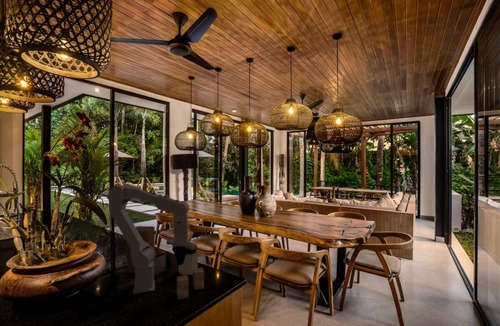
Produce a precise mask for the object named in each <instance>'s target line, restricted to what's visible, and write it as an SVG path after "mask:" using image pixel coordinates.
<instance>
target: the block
mask: <svg viewBox="0 0 500 326" xmlns="http://www.w3.org/2000/svg"><path fill="white" fill-rule="evenodd" d="M135 227H136V229H137V230H138V232H139V234H140V236H141V237H142V239H143V241H145V242H147V243H148V244H149V246H150V247H152V248H153V249H154V250H155V249H156V245H155V244H156V243H155V242H156V241H155V240H156V236H155V235H156V234H155V233H156V227H155V226H154V225H153V226H152V225H141V226H140V225H135ZM155 251H156V250H155ZM130 254H131V248H130V246H129V244H128V243H127V242H126V273H127V274H128V273H129V274H135V267H134V266H133V263H132V258H131V256H130ZM155 260H156V257H155V258H154V259H153V263H154V265H155V264H156V262H155Z"/></svg>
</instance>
